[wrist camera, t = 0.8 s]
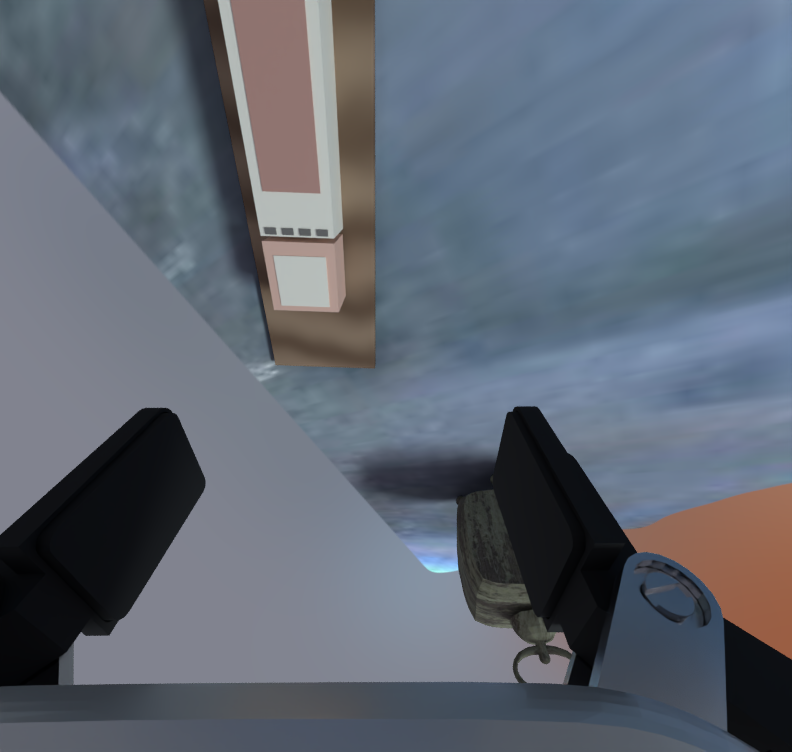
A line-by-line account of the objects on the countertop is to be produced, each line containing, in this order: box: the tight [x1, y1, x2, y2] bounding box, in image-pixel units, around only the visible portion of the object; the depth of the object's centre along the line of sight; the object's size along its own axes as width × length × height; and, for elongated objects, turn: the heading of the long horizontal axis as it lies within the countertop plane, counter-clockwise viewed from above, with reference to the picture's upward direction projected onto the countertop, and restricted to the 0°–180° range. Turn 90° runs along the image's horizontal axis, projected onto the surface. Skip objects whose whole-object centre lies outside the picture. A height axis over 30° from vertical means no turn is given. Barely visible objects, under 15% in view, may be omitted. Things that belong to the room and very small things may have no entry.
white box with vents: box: [218, 0, 343, 239], centre depth 24 cm, size 15×6×5 cm, turn 178°
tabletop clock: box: [456, 475, 572, 683], centre depth 41 cm, size 14×9×25 cm, turn 96°
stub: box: [262, 234, 346, 312], centre depth 30 cm, size 6×6×5 cm
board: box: [203, 0, 375, 368], centre depth 31 cm, size 32×12×1 cm, turn 178°
